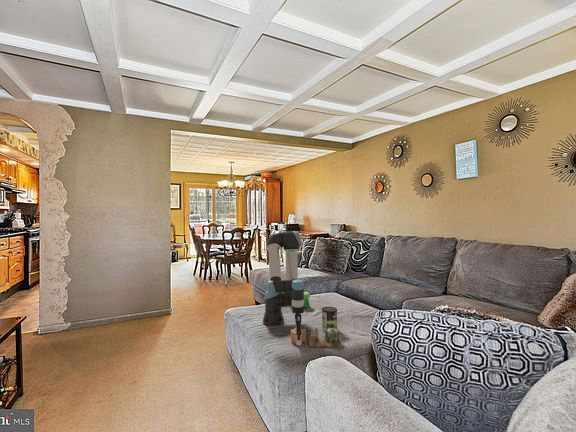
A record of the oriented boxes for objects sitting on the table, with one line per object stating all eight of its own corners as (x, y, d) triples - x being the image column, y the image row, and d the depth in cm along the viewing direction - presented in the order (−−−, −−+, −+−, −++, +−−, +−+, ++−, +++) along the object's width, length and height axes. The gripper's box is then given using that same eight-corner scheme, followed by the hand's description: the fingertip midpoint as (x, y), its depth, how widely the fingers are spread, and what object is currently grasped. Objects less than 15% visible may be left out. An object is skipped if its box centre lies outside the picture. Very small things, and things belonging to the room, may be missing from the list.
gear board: (310, 347, 175) (310, 333, 175) (308, 337, 189) (308, 324, 189) (342, 347, 176) (342, 333, 175) (338, 337, 190) (338, 324, 189)
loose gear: (291, 343, 181) (290, 333, 181) (290, 337, 190) (290, 327, 190) (306, 343, 181) (306, 333, 181) (305, 337, 190) (305, 327, 190)
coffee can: (339, 328, 203) (339, 307, 203) (333, 334, 194) (333, 312, 194) (325, 325, 209) (325, 305, 208) (319, 330, 200) (318, 309, 200)
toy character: (289, 306, 255) (288, 290, 254) (311, 304, 253) (309, 289, 253) (289, 309, 245) (287, 294, 245) (311, 308, 244) (309, 292, 244)
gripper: (305, 312, 172) (305, 349, 173) (302, 299, 197) (303, 331, 198) (292, 312, 172) (292, 349, 173) (291, 299, 197) (291, 331, 198)
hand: (298, 340), depth 185 cm, fingers open, 13 cm apart
